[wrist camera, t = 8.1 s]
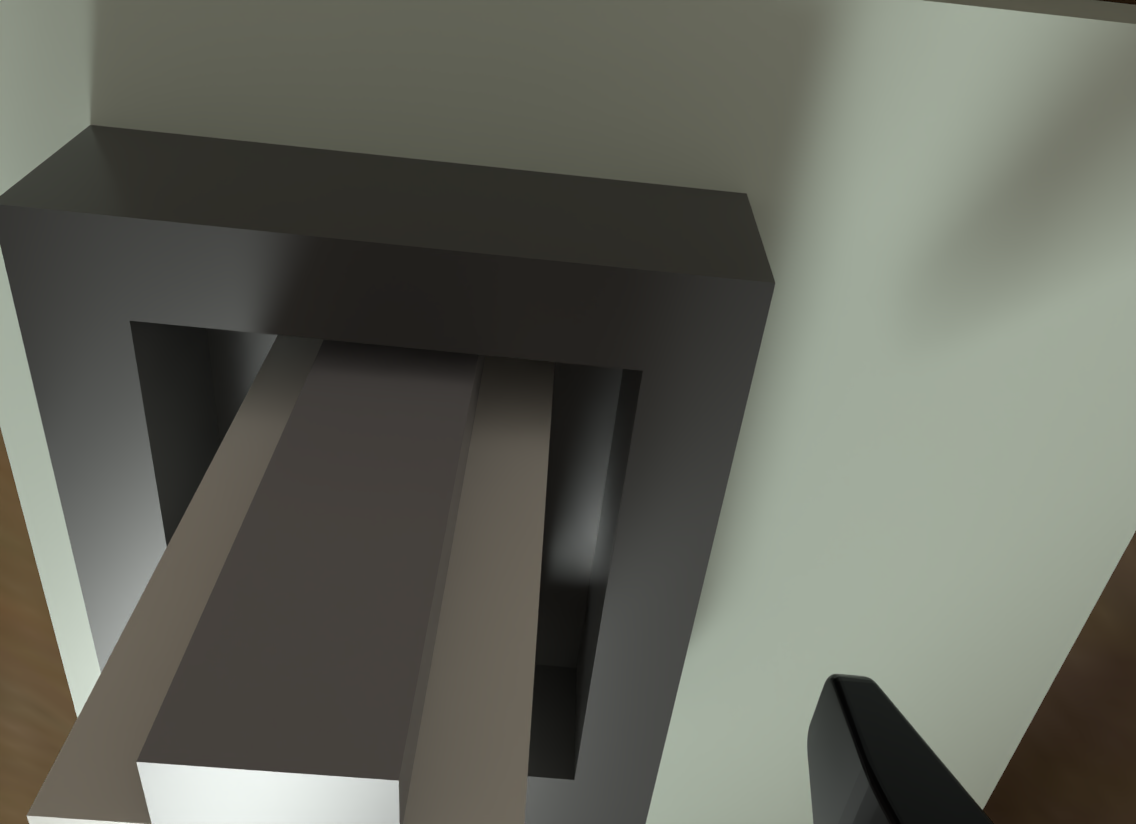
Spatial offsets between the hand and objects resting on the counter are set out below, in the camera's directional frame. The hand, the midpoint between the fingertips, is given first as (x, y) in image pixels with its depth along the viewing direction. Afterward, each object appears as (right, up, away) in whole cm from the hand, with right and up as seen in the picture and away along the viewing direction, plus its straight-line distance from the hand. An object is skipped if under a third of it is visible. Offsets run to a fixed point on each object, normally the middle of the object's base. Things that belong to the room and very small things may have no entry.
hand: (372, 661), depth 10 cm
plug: (0, +2, +2) cm, 3 cm away
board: (+2, 0, +5) cm, 5 cm away
